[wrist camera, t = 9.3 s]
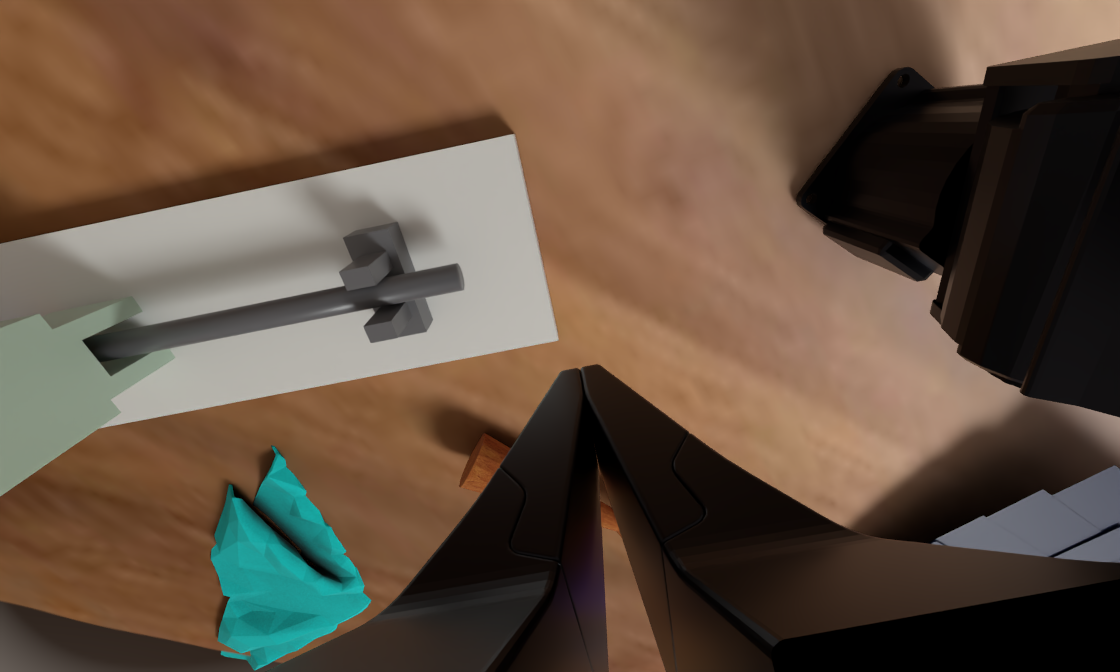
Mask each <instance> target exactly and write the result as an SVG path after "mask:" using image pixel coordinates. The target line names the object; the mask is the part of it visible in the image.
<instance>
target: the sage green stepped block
mask: <svg viewBox="0 0 1120 672" xmlns="http://www.w3.org/2000/svg"><path fill="white" fill-rule="evenodd" d="M141 312H143V311H142V309H141V308H140V307H139V305H138V304H137V302H136V301H135V300H134V298H133V297H132V296H130V297H125V298H120V299H115V300H110V301H105V302H101V303H96V304H91V305H86V306H81V307H76V308H71V309H66V310H62V311H57V312H52V313H50V314H47V315H44V316H41V315H40V314H34V315H29V316H24V317H20V318H15V319H10V320H5V321H0V496H1V495H3V494H4V493H6V492H7V491H9V490H10V489H11V488H13V487H14V486H16V485H17V484H19V483H20V482H22V481H23V480H24V479H26V478H27V477H29V476H30V475H32V474H33V473H35V472H36V471H38V470H39V469H40V468H42V467H43V466H45V465H46V464H48V463H49V462H51V461H52V460H53V459H55V458H56V457H58V456H59V455H61V454H62V453H64V452H65V451H67V450H68V449H69V448H71V447H72V446H74V445H75V444H77V443H78V442H80V441H81V440H82V439H84V438H85V437H87V436H88V435H90V434H91V433H93V432H94V431H95V430H97V429H98V428H100V427H101V426H103V425H104V424H106V423H107V422H109V421H110V420H111V419H113V418H114V417H116V416H117V415H119V414H120V413H121V412H120V410H119V409H118V408H117V407H116V406H115V404H114V403H113V402H112V401H111V399H112V398H114V397H116V396H117V395H119V394H120V393H122V392H123V391H125V390H126V389H128V388H130V387H131V386H133V385H134V384H136V383H137V382H139V381H140V380H142V379H144V378H145V377H147V376H148V375H150V374H151V373H153V372H154V371H156V370H158V369H159V368H161V367H162V366H164V365H165V364H167V363H168V362H170V361H172V360H173V359H175V356H174V355H173V353H172V352H171V351H170V349H165V350H160V351H155V352H150V353H145V354H140V355H135V356H130V357H125V358H120V359H115V360H110V361H105V362H99V361H98V360H97V359H96V357H95V356H94V355H93V354H92V353H91V351H90V350H89V349H88V348H87V346H86V345H85V344H84V343H83V341H82V340H83V339H86V338H88V337H90V336H92V335H94V334H96V333H98V332H100V331H103V330H105V329H107V328H109V327H111V326H113V325H115V324H117V323H119V322H122V321H124V320H126V319H128V318H130V317H132V316H134V315H136V314H139V313H141Z"/></svg>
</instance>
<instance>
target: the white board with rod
mask: <svg viewBox="0 0 1120 672" xmlns="http://www.w3.org/2000/svg"><path fill="white" fill-rule="evenodd" d="M130 296H132V297H133V298H134V300H135V301H136V302H137V304H138V305H139V307H140V308H141V309H142V311H143V312H141V313H139V314H136V315H134V316H132V317H130V318H128V319H126V320H124V321H122V322H119V323H117V324H115V325H113V326H111V327H109V328H107V329H105V330H103V331H100V332H98V333H96V334H94V335H92V336H90V337H88V338H86V339H83V340H82V341H83V343H84V344H85V345H86V346H87V348H88V349H89V350H90V351H91V353H92V354H93V355H94V356H95V357H96V359H97V360H98V361H99V362H105V361H110V360H115V359H120V358H125V357H130V356H135V355H140V354H145V353H150V352H155V351H160V350H165V349H170V351H171V352H172V353H173V355H174V356H175V359H173V360H172V361H170V362H168V363H167V364H165V365H164V366H162V367H161V368H159V369H158V370H156V371H154V372H153V373H151V374H150V375H148V376H147V377H145V378H144V379H142V380H140V381H139V382H137V383H136V384H134V385H133V386H131V387H130V388H128V389H126V390H125V391H123V392H122V393H120V394H119V395H117V396H116V397H114V398H112V399H111V401H112V402H113V403H114V404H115V406H116V407H117V408H118V409H119V410H120V412H121V413H120V414H119V415H117V416H116V417H114V418H113V419H111V420H110V421H109V422H107V423H106V424H104V425H103V426H101V427H100V428H103V427H108V426H114V425H119V424H124V423H129V422H134V421H140V420H145V419H150V418H155V417H161V416H166V415H171V414H176V413H182V412H187V411H192V410H197V409H202V408H208V407H213V406H218V405H223V404H229V403H234V402H239V401H244V400H250V399H255V398H260V397H265V396H270V395H276V394H281V393H286V392H291V391H297V390H302V389H307V388H312V387H318V386H323V385H328V384H333V383H338V382H344V381H349V380H354V379H359V378H365V377H370V376H375V375H380V374H386V373H391V372H396V371H401V370H407V369H412V368H417V367H422V366H427V365H433V364H438V363H443V362H448V361H454V360H459V359H464V358H469V357H475V356H480V355H485V354H490V353H495V352H501V351H506V350H511V349H516V348H522V347H527V346H532V345H537V344H543V343H548V342H553V341H558V331H557V327H556V322H555V317H554V313H553V308H552V304H551V299H550V294H549V290H548V285H547V280H546V276H545V271H544V266H543V262H542V257H541V253H540V248H539V243H538V239H537V234H536V229H535V225H534V220H533V216H532V211H531V206H530V202H529V197H528V192H527V188H526V183H525V178H524V174H523V169H522V165H521V160H520V155H519V151H518V146H517V141H516V137H515V134H511V135H506V136H502V137H497V138H492V139H488V140H483V141H478V142H474V143H469V144H464V145H460V146H455V147H450V148H446V149H441V150H436V151H431V152H427V153H422V154H417V155H413V156H408V157H403V158H399V159H394V160H389V161H385V162H380V163H375V164H371V165H366V166H361V167H357V168H352V169H347V170H343V171H338V172H333V173H329V174H324V175H319V176H315V177H310V178H305V179H300V180H296V181H291V182H286V183H282V184H277V185H272V186H268V187H263V188H258V189H254V190H249V191H244V192H240V193H235V194H230V195H226V196H221V197H216V198H212V199H207V200H202V201H198V202H193V203H188V204H184V205H179V206H174V207H170V208H165V209H160V210H155V211H151V212H146V213H141V214H137V215H132V216H127V217H123V218H118V219H113V220H109V221H104V222H99V223H95V224H90V225H85V226H81V227H76V228H71V229H67V230H62V231H57V232H53V233H48V234H43V235H39V236H34V237H29V238H24V239H20V240H15V241H10V242H6V243H1V244H0V321H5V320H10V319H15V318H20V317H24V316H29V315H34V314H40V315H41V316H44V315H47V314H50V313H52V312H57V311H62V310H66V309H71V308H76V307H81V306H86V305H91V304H96V303H101V302H105V301H110V300H115V299H120V298H125V297H130Z"/></svg>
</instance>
